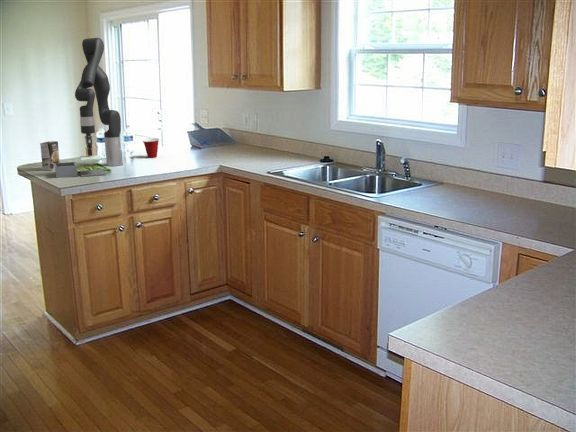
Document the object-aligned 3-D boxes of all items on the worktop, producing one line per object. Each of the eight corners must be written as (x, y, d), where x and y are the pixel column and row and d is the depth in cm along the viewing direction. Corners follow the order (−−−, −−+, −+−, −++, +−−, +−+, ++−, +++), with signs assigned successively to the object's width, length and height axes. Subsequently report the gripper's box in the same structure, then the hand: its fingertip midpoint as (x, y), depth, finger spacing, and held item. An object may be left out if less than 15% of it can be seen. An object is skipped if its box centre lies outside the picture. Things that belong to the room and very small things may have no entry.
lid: (99, 158, 356) (98, 146, 355) (102, 161, 345) (101, 149, 343) (79, 159, 352) (78, 147, 351) (81, 162, 341) (80, 150, 339)
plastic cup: (142, 156, 406) (140, 138, 403) (158, 155, 410) (157, 137, 407) (145, 159, 396) (143, 140, 393) (162, 158, 400) (160, 139, 397)
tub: (75, 172, 355) (74, 161, 354) (77, 176, 344) (76, 165, 342) (55, 173, 351) (54, 163, 350) (56, 177, 340) (55, 167, 338)
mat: (102, 170, 360) (102, 169, 360) (105, 175, 346) (105, 174, 346) (79, 172, 355) (79, 171, 355) (81, 176, 342) (81, 175, 341)
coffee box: (52, 170, 360) (49, 143, 355) (42, 170, 361) (39, 143, 357) (61, 168, 368) (58, 141, 364) (51, 167, 370) (48, 140, 365)
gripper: (95, 125, 342) (97, 156, 346) (93, 123, 354) (95, 153, 359) (81, 126, 339) (83, 157, 344) (79, 123, 352) (82, 153, 356)
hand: (90, 155), depth 351 cm, fingers closed on lid
